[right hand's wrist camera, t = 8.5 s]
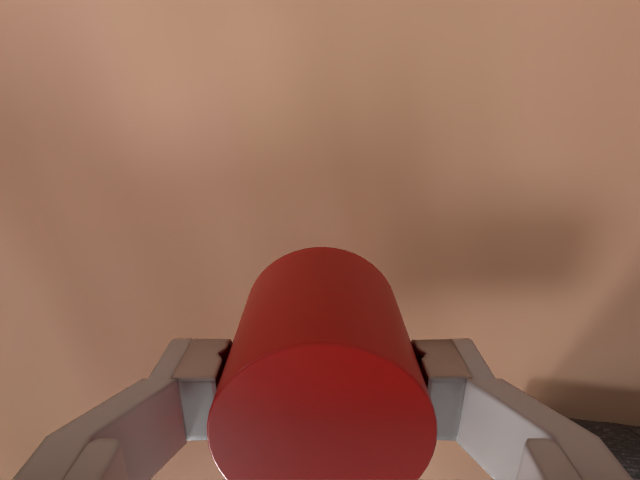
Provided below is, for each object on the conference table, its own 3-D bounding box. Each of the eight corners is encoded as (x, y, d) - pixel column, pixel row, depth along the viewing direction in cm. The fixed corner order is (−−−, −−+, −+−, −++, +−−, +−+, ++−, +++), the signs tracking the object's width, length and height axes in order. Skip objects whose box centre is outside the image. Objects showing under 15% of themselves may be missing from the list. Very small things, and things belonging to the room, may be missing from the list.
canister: (317, 399, 14) (314, 548, 9) (215, 311, 13) (157, 434, 8) (426, 320, 13) (484, 446, 8) (327, 214, 11) (330, 296, 7)
